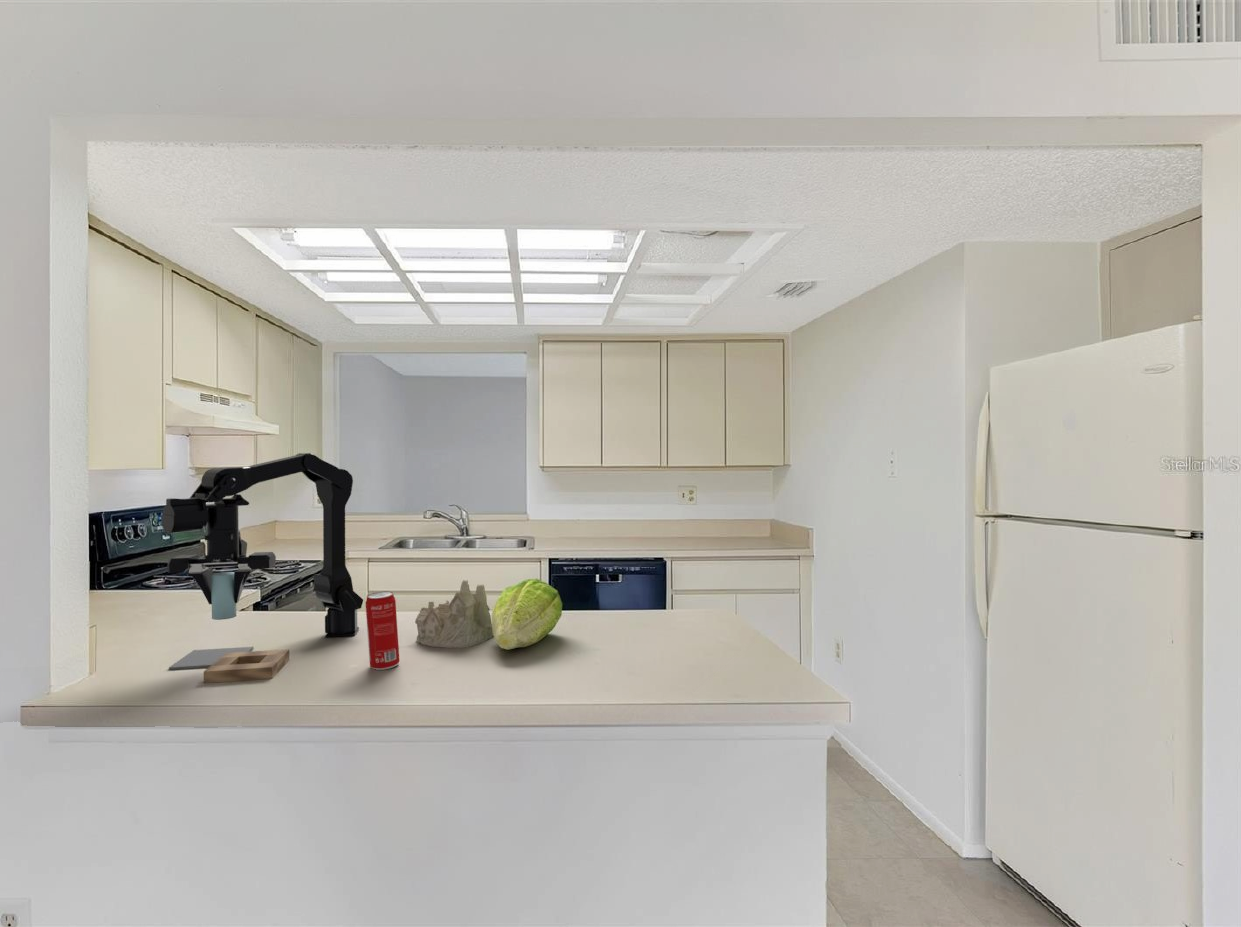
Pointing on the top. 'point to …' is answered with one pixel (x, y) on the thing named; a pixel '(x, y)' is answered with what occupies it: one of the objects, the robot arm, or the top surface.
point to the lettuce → (525, 613)
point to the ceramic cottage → (456, 620)
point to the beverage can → (382, 630)
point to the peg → (223, 596)
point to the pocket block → (247, 666)
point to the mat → (205, 657)
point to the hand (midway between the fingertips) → (224, 603)
